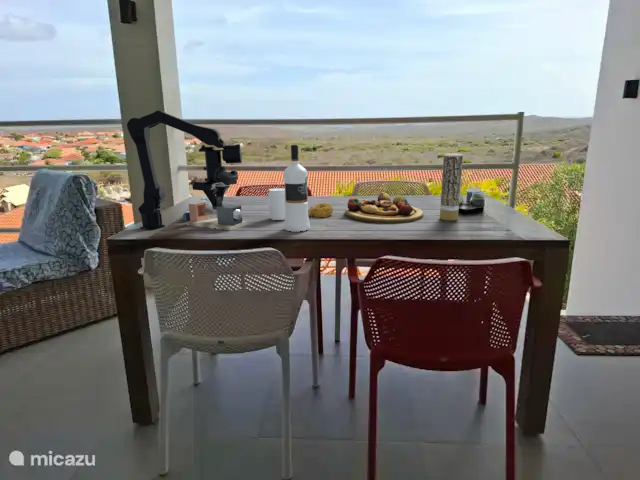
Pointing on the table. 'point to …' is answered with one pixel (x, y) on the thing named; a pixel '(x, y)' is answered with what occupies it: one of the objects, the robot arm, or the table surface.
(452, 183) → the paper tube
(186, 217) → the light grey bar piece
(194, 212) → the socket
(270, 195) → the beverage can
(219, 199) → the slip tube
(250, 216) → the table surface
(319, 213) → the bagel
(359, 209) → the wooden plate with food
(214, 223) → the base board
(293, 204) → the vodka
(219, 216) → the sleeve
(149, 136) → the robot arm
